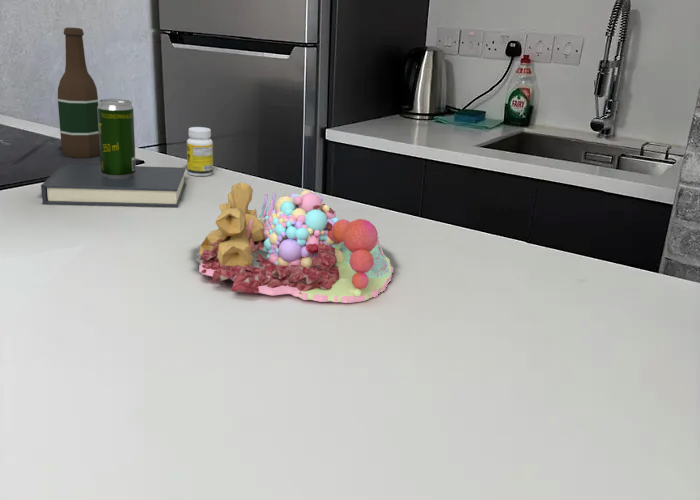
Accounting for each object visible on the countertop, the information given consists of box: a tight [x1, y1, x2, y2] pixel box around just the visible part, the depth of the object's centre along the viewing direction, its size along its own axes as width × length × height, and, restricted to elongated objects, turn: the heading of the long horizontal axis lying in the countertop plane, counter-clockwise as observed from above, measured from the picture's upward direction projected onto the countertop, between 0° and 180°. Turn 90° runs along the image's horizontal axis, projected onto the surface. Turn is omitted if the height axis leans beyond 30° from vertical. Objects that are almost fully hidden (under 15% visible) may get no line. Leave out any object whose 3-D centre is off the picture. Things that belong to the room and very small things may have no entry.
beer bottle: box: [57, 27, 100, 159], centre depth 132 cm, size 8×8×24 cm
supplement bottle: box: [186, 126, 214, 177], centre depth 126 cm, size 5×5×8 cm
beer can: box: [97, 98, 137, 179], centre depth 109 cm, size 5×5×12 cm
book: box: [40, 163, 186, 208], centre depth 111 cm, size 20×14×3 cm
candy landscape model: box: [195, 182, 395, 304], centre depth 86 cm, size 25×24×9 cm
